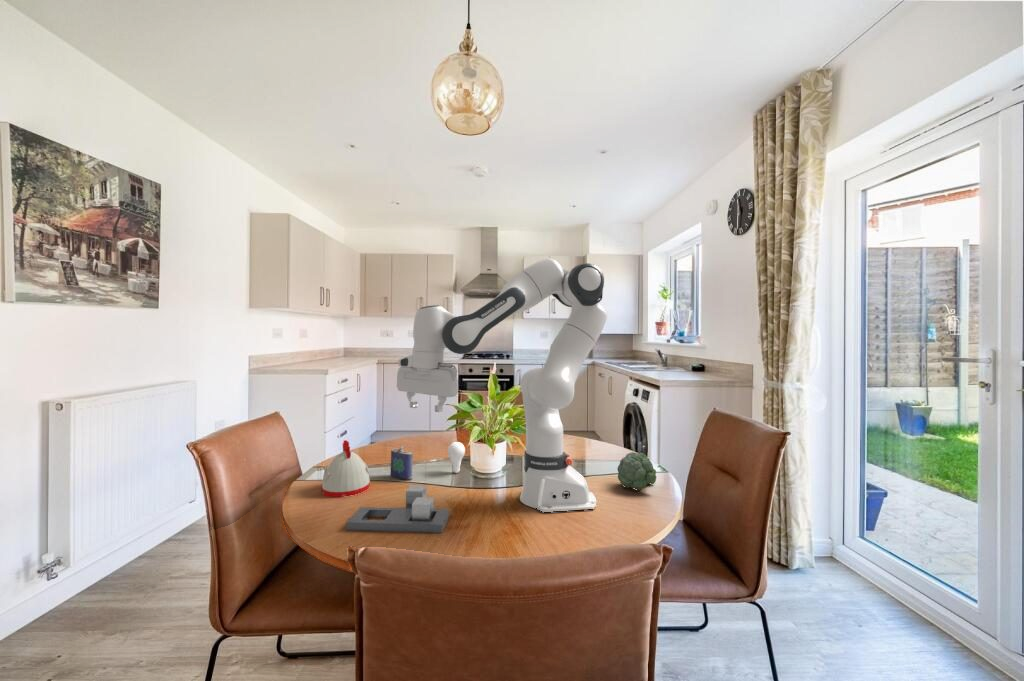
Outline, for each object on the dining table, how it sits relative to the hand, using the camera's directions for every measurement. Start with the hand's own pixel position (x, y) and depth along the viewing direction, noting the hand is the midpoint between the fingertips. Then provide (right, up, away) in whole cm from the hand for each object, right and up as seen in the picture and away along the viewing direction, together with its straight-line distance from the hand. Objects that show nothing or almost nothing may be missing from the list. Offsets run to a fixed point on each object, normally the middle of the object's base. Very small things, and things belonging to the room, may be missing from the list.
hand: (425, 409), depth 115 cm
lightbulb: (+5, -27, +27) cm, 39 cm away
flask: (-13, -27, +22) cm, 37 cm away
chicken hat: (-27, -27, +11) cm, 40 cm away
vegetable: (+66, -28, +16) cm, 73 cm away
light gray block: (+2, -27, -12) cm, 30 cm away
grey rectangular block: (-2, -27, -3) cm, 28 cm away
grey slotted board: (-4, -27, -12) cm, 30 cm away
